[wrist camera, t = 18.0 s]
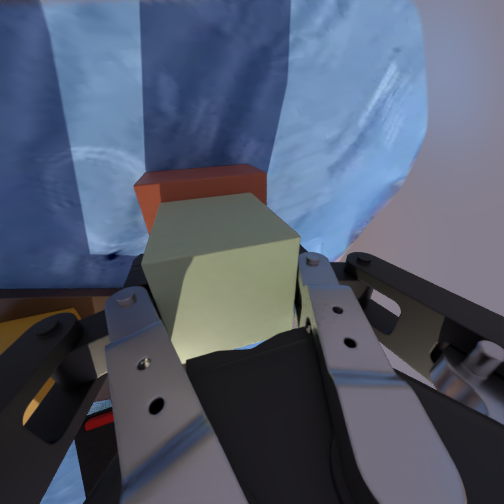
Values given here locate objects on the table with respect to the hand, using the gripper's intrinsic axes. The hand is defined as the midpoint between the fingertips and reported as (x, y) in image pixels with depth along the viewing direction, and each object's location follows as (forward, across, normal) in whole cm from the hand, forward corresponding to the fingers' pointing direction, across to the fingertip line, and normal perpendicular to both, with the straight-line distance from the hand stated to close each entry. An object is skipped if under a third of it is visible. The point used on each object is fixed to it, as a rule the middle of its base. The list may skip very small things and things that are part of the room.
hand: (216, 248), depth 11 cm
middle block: (+1, 0, 0) cm, 1 cm away
